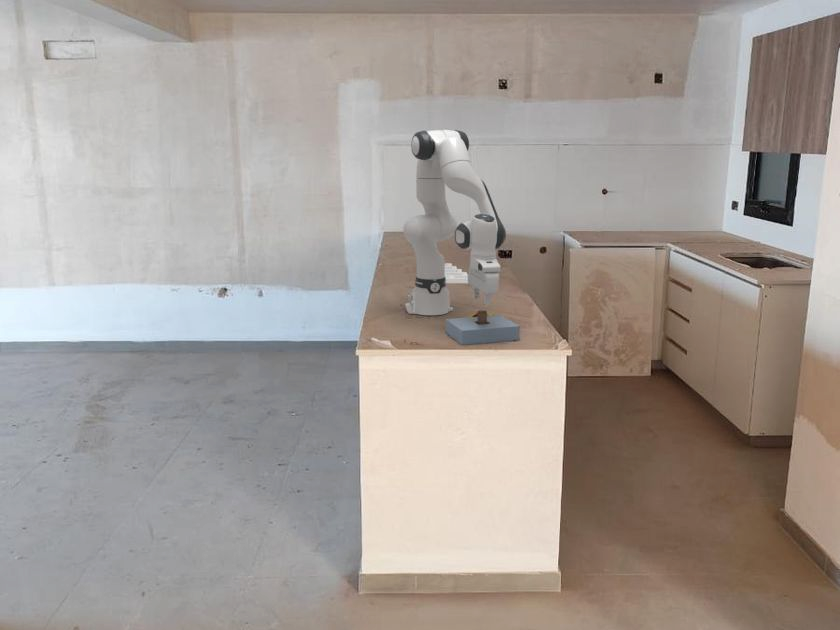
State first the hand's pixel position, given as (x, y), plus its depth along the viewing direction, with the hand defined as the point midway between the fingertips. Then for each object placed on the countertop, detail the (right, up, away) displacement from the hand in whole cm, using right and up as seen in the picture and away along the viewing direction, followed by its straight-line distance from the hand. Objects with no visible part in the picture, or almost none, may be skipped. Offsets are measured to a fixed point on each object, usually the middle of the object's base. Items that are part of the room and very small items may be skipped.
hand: (481, 301), depth 256 cm
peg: (0, -12, +3) cm, 12 cm away
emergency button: (+1, -9, +20) cm, 22 cm away
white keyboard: (-5, +15, +120) cm, 121 cm away
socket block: (0, -12, +3) cm, 12 cm away
